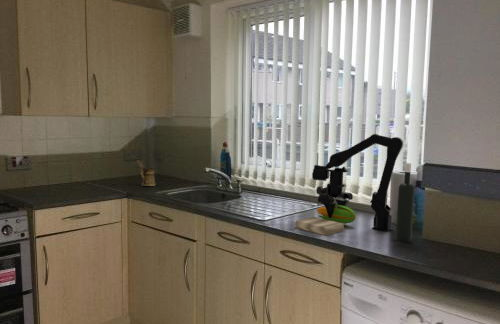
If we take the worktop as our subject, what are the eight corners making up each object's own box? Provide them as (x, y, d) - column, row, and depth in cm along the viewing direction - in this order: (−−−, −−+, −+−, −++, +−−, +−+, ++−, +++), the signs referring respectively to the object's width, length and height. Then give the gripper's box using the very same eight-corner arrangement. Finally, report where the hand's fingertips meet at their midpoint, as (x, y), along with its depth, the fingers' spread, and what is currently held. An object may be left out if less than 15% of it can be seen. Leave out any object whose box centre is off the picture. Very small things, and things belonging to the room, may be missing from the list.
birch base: (343, 230, 182) (344, 223, 182) (326, 235, 174) (326, 228, 174) (313, 223, 194) (313, 216, 193) (295, 227, 185) (295, 220, 185)
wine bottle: (412, 242, 167) (417, 164, 164) (396, 241, 168) (401, 163, 165) (409, 238, 172) (414, 162, 170) (394, 237, 173) (399, 162, 171)
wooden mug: (132, 186, 282) (133, 158, 280) (149, 184, 292) (150, 157, 291) (141, 188, 276) (141, 159, 275) (158, 186, 287) (158, 158, 285)
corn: (350, 208, 184) (312, 201, 198) (349, 226, 185) (310, 218, 199) (359, 207, 190) (321, 200, 204) (358, 225, 190) (320, 217, 204)
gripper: (333, 178, 205) (332, 211, 206) (308, 181, 192) (307, 216, 193) (354, 181, 197) (352, 215, 198) (329, 184, 184) (327, 221, 186)
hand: (334, 216), depth 194 cm, fingers closed on corn, 7 cm apart
